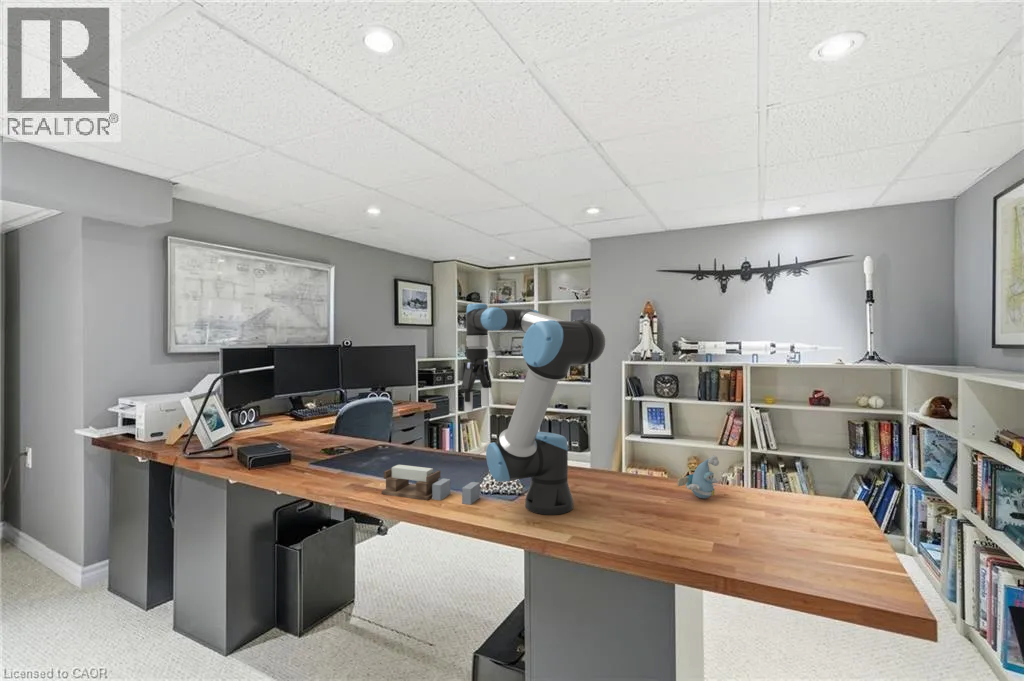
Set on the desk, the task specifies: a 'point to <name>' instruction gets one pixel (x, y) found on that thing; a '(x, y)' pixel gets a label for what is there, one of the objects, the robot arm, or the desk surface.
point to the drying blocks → (468, 492)
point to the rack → (410, 486)
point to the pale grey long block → (411, 472)
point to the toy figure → (701, 479)
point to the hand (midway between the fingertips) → (477, 408)
